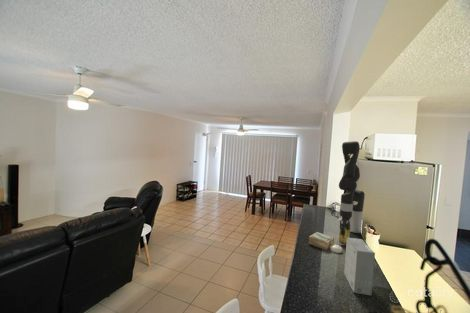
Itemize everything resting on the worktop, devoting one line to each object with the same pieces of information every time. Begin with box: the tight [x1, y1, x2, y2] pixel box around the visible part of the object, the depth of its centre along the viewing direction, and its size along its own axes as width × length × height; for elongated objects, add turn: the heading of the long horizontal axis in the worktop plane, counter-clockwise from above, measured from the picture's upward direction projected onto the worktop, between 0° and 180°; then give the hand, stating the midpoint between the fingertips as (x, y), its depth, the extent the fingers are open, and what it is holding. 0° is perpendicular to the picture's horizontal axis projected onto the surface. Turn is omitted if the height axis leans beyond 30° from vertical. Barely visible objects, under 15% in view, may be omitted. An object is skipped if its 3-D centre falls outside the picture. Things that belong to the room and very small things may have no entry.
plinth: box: [308, 231, 335, 251], centre depth 145 cm, size 12×12×5 cm
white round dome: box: [329, 244, 343, 254], centre depth 137 cm, size 7×7×2 cm
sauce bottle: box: [338, 218, 351, 245], centre depth 144 cm, size 7×6×20 cm
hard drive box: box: [343, 237, 376, 296], centre depth 103 cm, size 16×8×20 cm, turn 168°
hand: (344, 233), depth 144 cm, fingers closed on sauce bottle, 6 cm apart
